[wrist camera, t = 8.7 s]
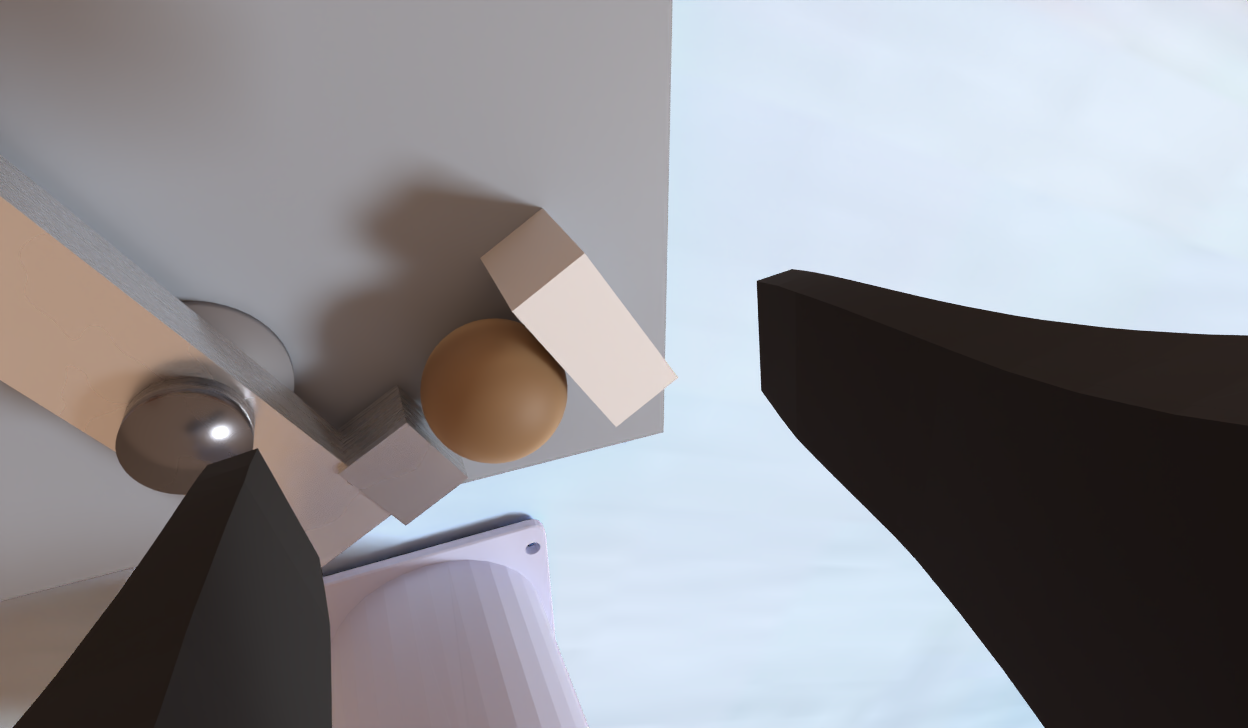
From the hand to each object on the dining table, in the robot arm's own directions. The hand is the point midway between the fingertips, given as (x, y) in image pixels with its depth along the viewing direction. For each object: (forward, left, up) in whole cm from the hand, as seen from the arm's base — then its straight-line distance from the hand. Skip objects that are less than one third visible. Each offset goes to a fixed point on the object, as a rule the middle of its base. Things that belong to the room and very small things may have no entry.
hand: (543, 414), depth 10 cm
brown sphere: (-4, -1, -9) cm, 10 cm away
